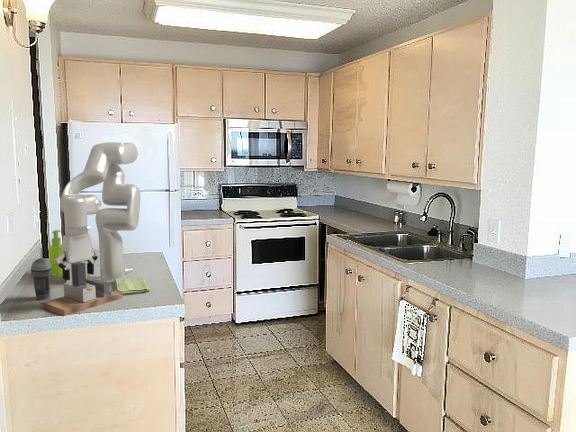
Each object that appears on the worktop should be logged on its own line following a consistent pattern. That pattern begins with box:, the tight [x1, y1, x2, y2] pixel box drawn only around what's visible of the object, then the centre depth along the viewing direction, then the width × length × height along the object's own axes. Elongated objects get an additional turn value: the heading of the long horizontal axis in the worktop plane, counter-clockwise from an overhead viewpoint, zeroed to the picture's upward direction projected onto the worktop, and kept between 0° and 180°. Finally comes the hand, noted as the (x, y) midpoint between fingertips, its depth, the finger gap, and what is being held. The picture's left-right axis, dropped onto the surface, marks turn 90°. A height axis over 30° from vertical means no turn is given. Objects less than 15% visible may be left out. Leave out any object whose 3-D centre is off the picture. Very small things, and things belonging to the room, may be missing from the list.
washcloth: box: [112, 277, 150, 296], centre depth 197 cm, size 13×18×3 cm
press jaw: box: [63, 262, 96, 302], centre depth 176 cm, size 5×13×13 cm, turn 56°
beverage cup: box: [30, 247, 52, 301], centre depth 182 cm, size 7×7×20 cm
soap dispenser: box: [48, 229, 63, 277], centre depth 216 cm, size 6×7×20 cm
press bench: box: [41, 277, 124, 316], centre depth 178 cm, size 24×14×7 cm, turn 146°
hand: (78, 276), depth 176 cm, fingers open, 9 cm apart
